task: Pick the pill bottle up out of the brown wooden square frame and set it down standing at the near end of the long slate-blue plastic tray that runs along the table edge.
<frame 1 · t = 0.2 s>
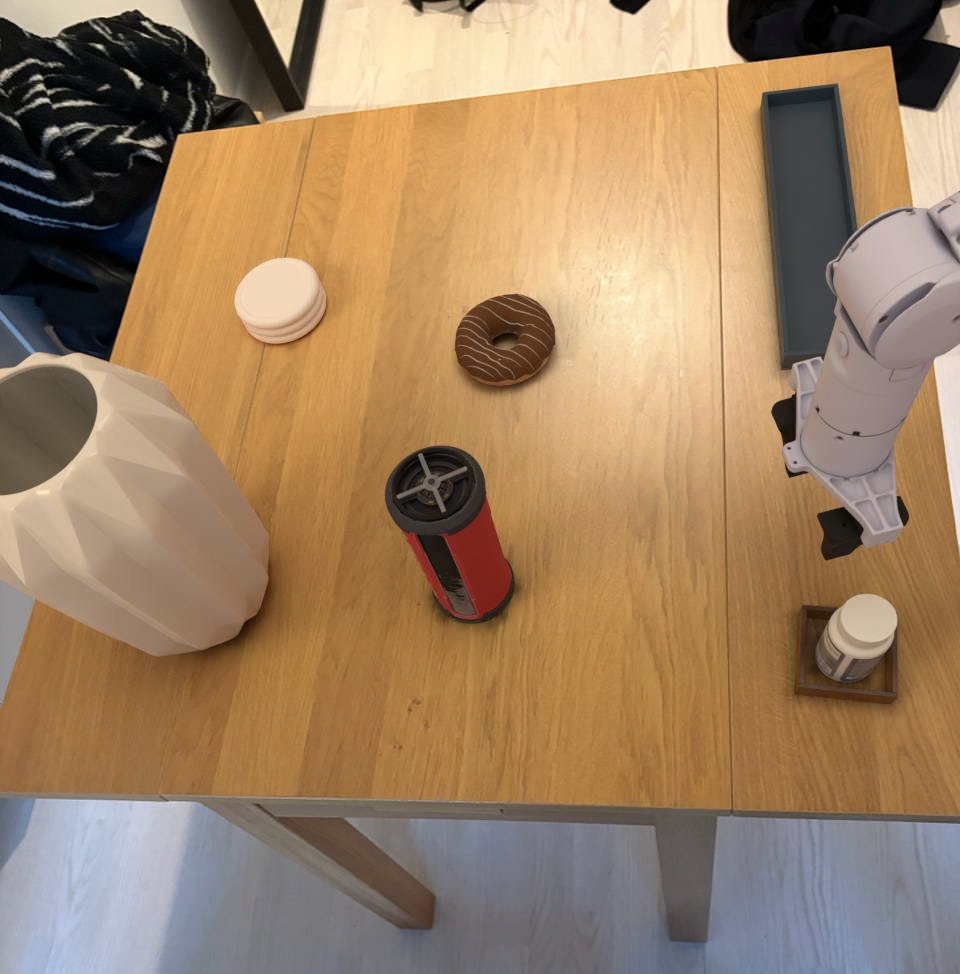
hand: (817, 511, 64), 10 cm above the table, tool pointing down, fingers open, 7 cm apart
pill bottle: (842, 658, 69), resting in brown wooden square frame
brown wooden square frame: (843, 657, 69), on the table
vase: (211, 595, 82), on the table
tray: (809, 225, 86), on the table
speaker: (475, 587, 77), on the table
pale pink macaron: (287, 313, 95), on the table
donut: (507, 354, 87), on the table
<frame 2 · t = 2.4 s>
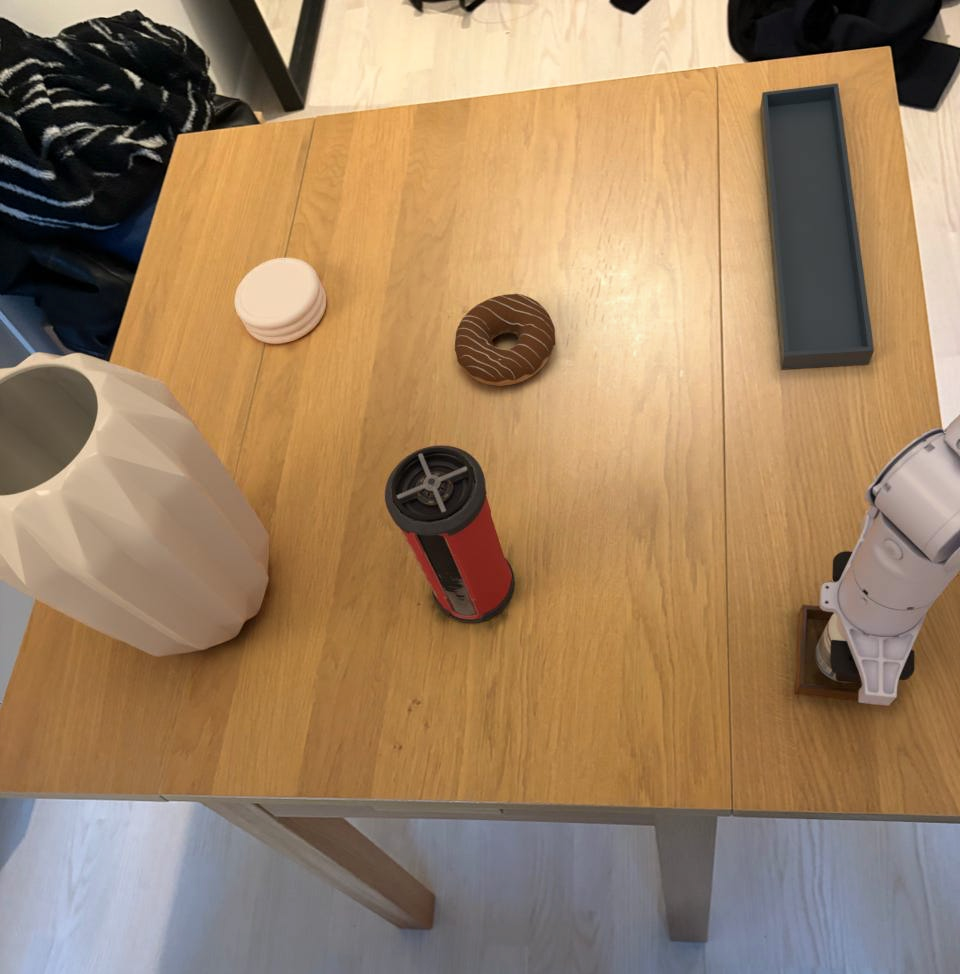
hand: (850, 646, 66), 2 cm above the table, tool pointing down, fingers closed on pill bottle, 5 cm apart
pill bottle: (842, 658, 69), resting in brown wooden square frame, touching gripper
everything else where it was.
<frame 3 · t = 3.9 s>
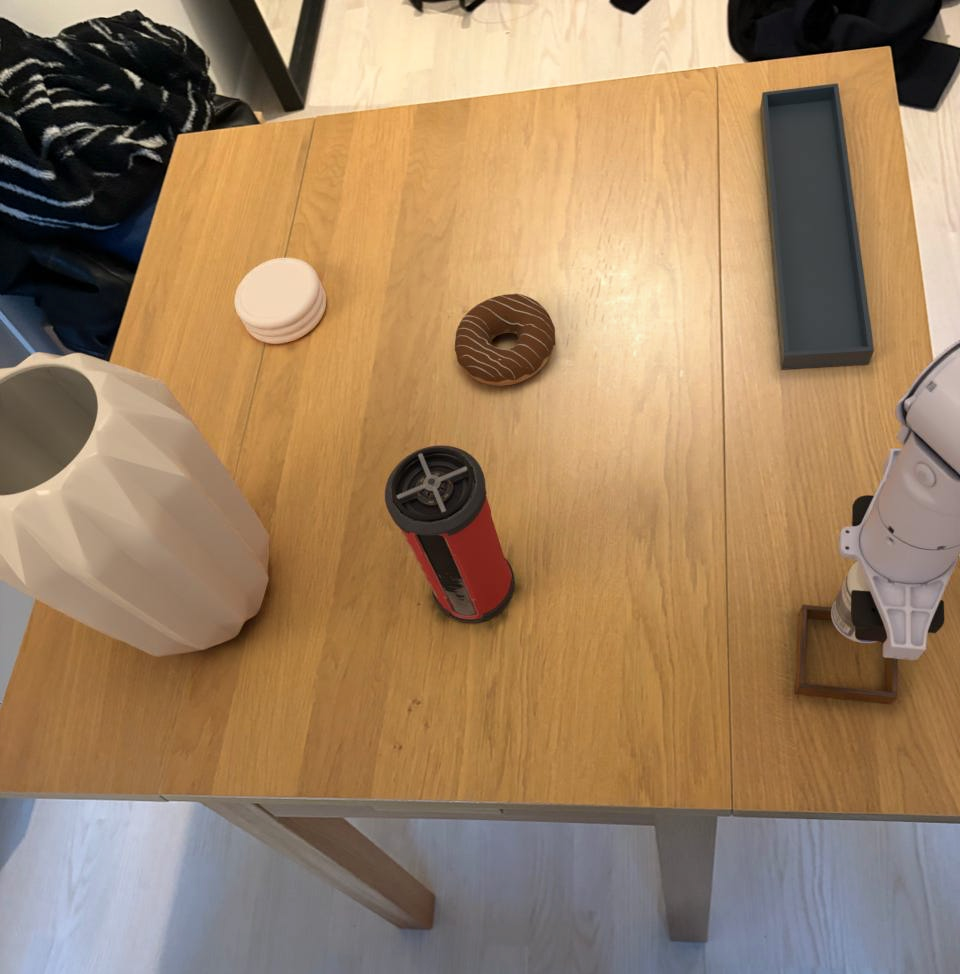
hand: (870, 602, 61), 9 cm above the table, tool pointing down, fingers closed on pill bottle, 5 cm apart
pill bottle: (861, 617, 63), point 6 cm above the table, touching gripper
everything else where it was.
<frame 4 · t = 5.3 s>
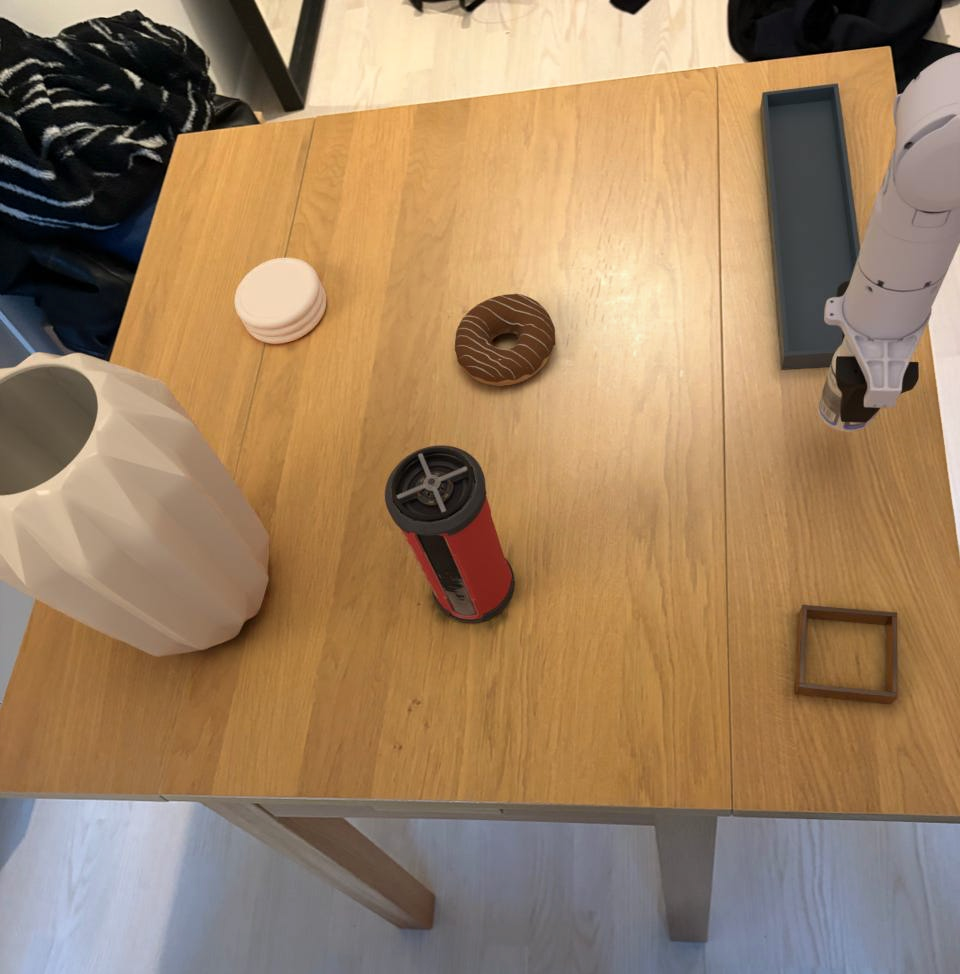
hand: (854, 391, 67), 9 cm above the table, tool pointing down, fingers closed on pill bottle, 5 cm apart
pill bottle: (846, 411, 70), point 7 cm above the table, touching gripper
everything else where it was.
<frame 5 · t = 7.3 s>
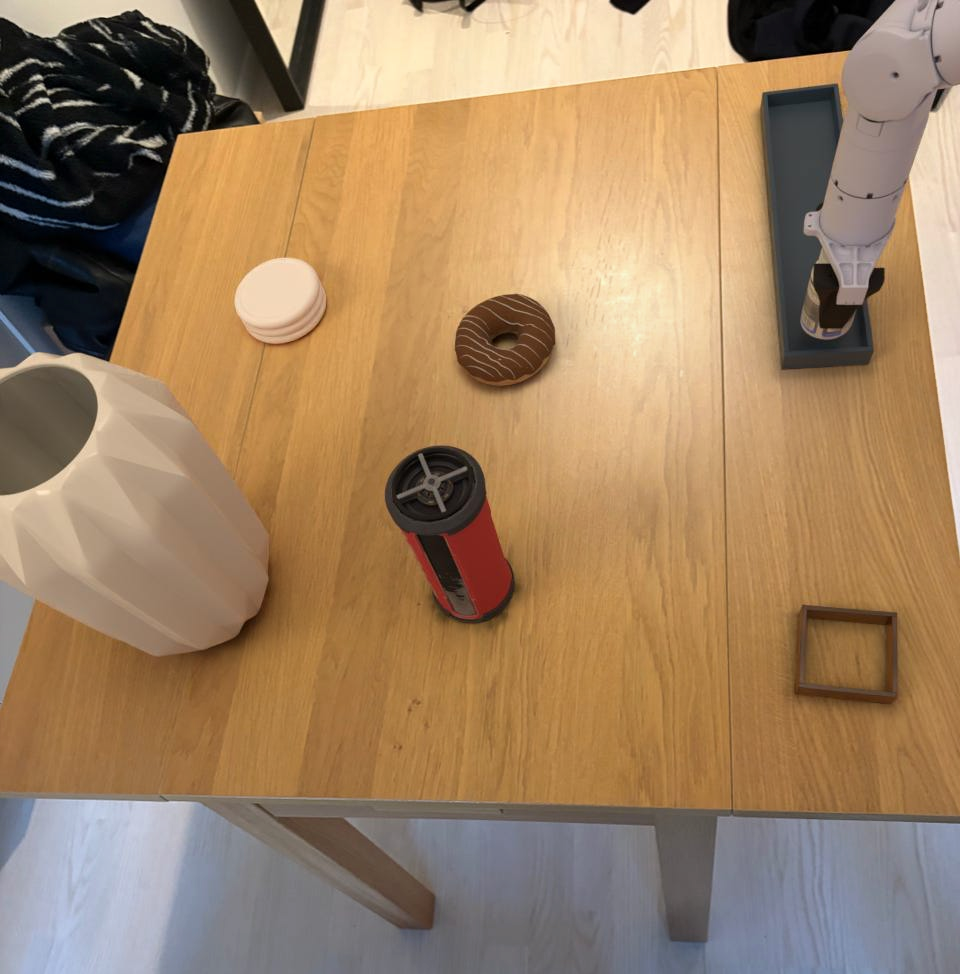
hand: (832, 302, 76), 5 cm above the table, tool pointing down, fingers closed on pill bottle, 5 cm apart
pill bottle: (825, 323, 79), point 2 cm above the table, touching gripper
everything else where it was.
when the fingers open (3 cm above the table, at t = 8.4 s): pill bottle stays where it is, resting on tray.
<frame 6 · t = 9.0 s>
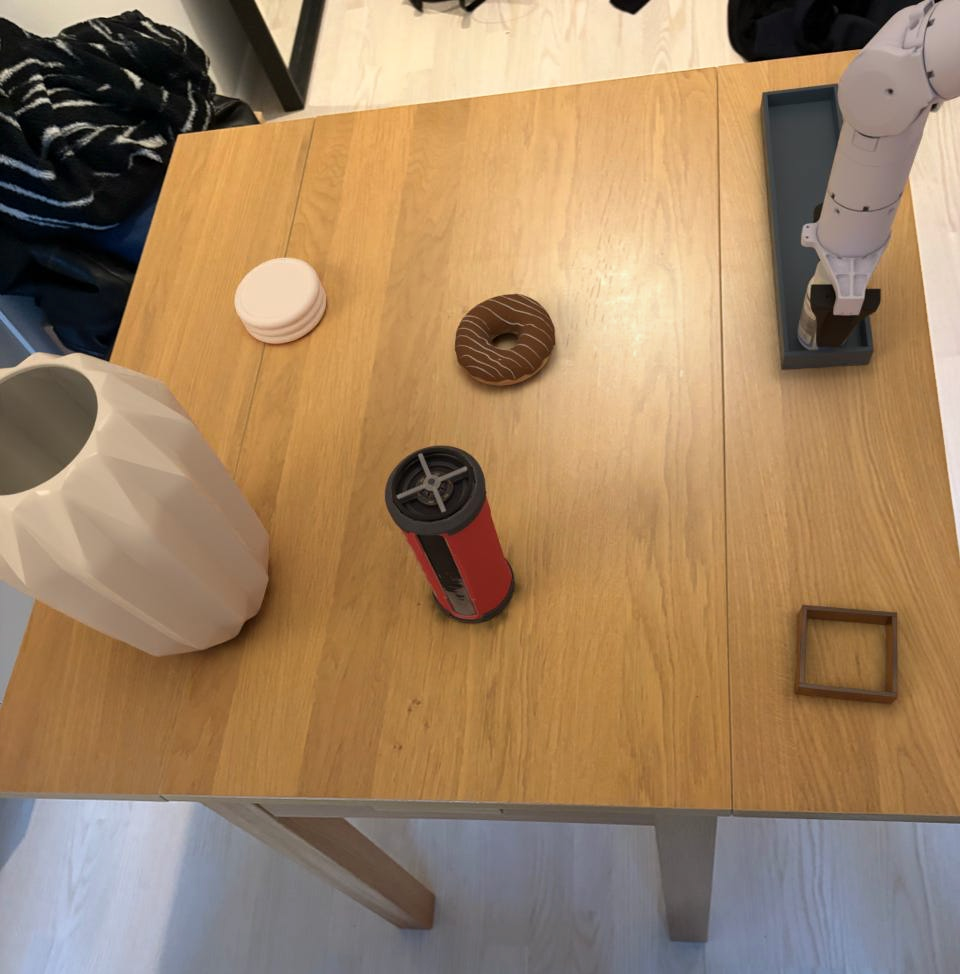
hand: (829, 312, 77), 4 cm above the table, tool pointing down, fingers open, 7 cm apart
pill bottle: (821, 336, 80), resting on tray
everything else where it was.
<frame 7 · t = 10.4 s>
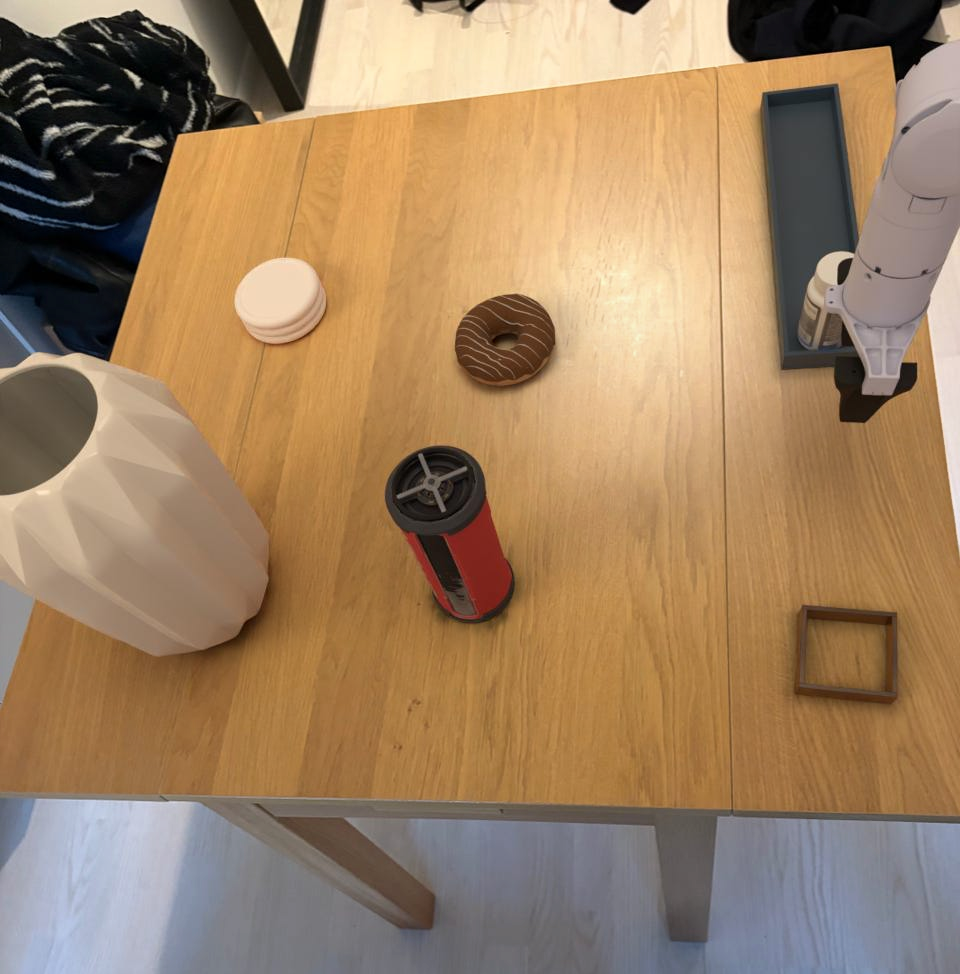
hand: (853, 380, 68), 9 cm above the table, tool pointing down, fingers open, 7 cm apart
nothing on the table moved.
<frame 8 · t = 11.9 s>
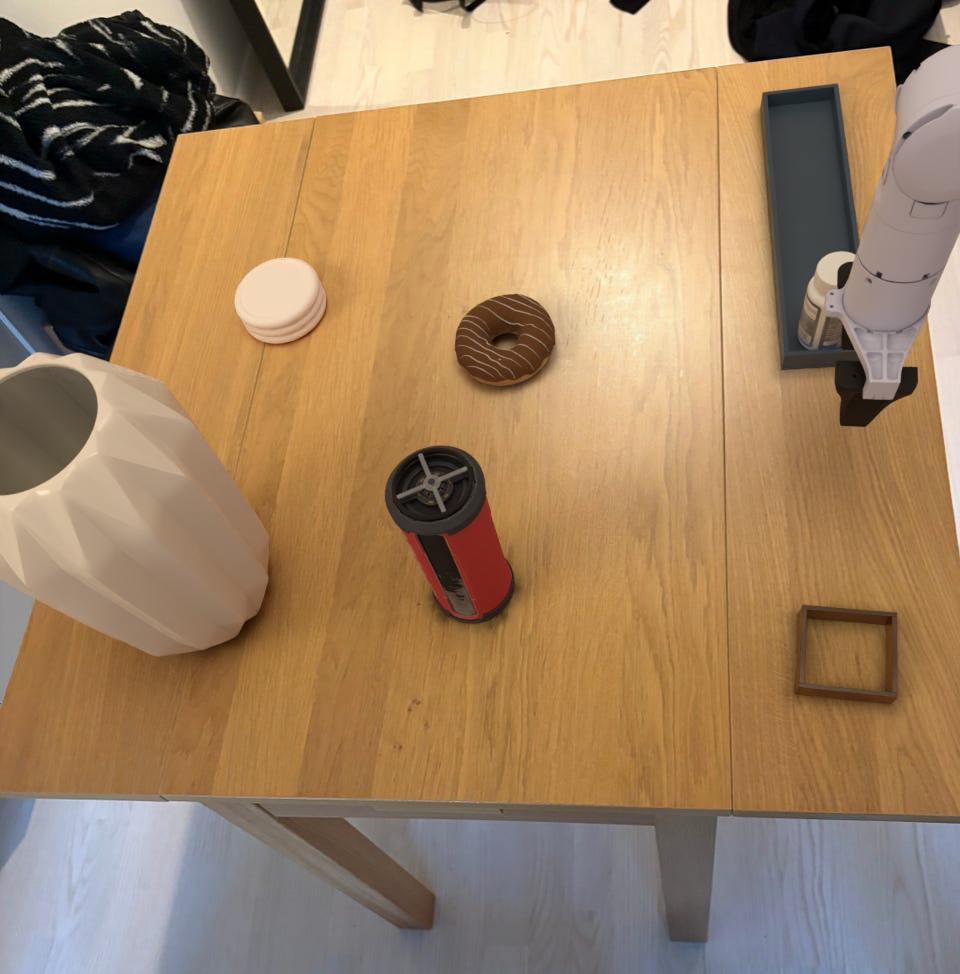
hand: (854, 384, 67), 9 cm above the table, tool pointing down, fingers open, 7 cm apart
nothing on the table moved.
at the end: pill bottle inside the target area in the tray (15.0 cm from its centre), point 0.3 cm above the tray's base; pill bottle tilted 0°; the gripper is holding nothing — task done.
